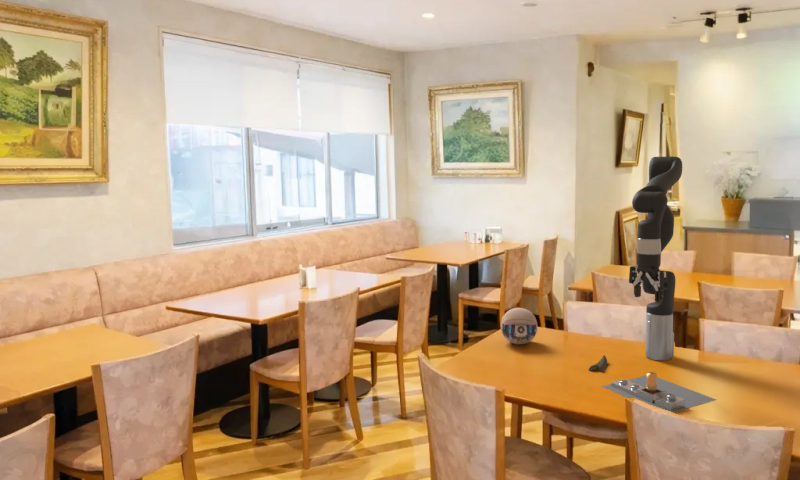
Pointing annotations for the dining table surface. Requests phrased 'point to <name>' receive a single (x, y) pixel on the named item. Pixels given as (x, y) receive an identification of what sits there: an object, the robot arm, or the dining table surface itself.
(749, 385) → the dining table surface
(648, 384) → the pin
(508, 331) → the ornament
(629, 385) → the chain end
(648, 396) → the chain end
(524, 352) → the dining table surface
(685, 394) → the grey flat rectangular plate
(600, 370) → the dark grey rock
